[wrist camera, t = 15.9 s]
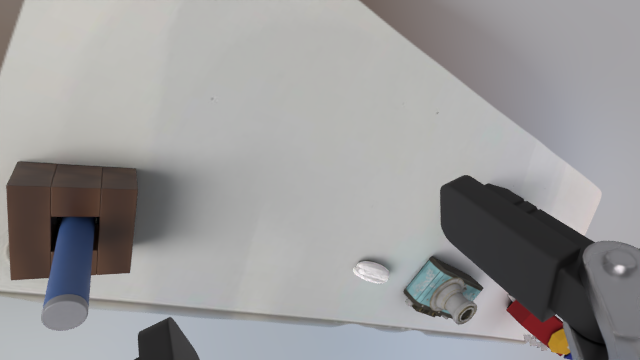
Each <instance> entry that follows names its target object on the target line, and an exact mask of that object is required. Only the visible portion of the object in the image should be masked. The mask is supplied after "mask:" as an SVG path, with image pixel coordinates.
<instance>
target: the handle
mask: <svg viewBox="0 0 640 360" xmlns="http://www.w3.org/2000/svg"><path fill="white" fill-rule="evenodd" d="M94 229H95V217H62V218H61V223H60V228H59V232H58V237H57V242H56V247H55V252H54V257H53V261H52V266H51V271H50V276H49V281H48V286H47V290H46V295H45V300H44V305H43V310H42V315H41V320H42V323H43V324H44V325H45V326H46V327H48V328H49V329H52V330H58V331H63V330H69V329H72V328H75V327H77V326H79V325H80V324H82V323H83V322H84V321H85V319H86V318H87V315H88V306H89V293H90V280H91V267H92V254H93V242H94Z"/></svg>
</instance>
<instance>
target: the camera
mask: <svg viewBox="0 0 640 360" xmlns="http://www.w3.org/2000/svg"><path fill="white" fill-rule="evenodd" d="M482 289H483V287H482V286H481V285H480V284H479V283H478V282H477V281H476V280H474V279H473V278H472V277H471V276H469V275H467V274H465V273H463V272H462V271H460V270H458V269H456V268H454V267H452V266H450V265H448V264H446V263H444V262H442V261H440V260H438V259H436V258H434V257H431V258H430V259H429V261H428V262H427V263H426V264H425V266H424V267H423V268H422V269H421V271H420V272H419V273H418V274H417V276H416V277H415V278H414V279H413V281H412V282H411V283H410V284H409V285H408V287H407V288H406V289H405V290H404V294H405V295H406V296H407V297H408V299H407V300H406V301H405V302H406V304H407V305H408V306H412V307H413V308H414V309H415V310H416V311H418V312H421V313H424V314H427V315H429V316H432V317H435V316H439V317H441V316H442V317H444V318H445V319H448V318H452V319H453V320H454V321H455V323H457V324H464V323H466V322H467V321H469V320H470V319H471V318H472V317H473V316H474V314H475V313H476V310H477V305H476V304H475V303H474V302H473V300H474V299H475V298H476V297H477V295H478V294H479V293H480V292H481V291H482Z"/></svg>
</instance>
